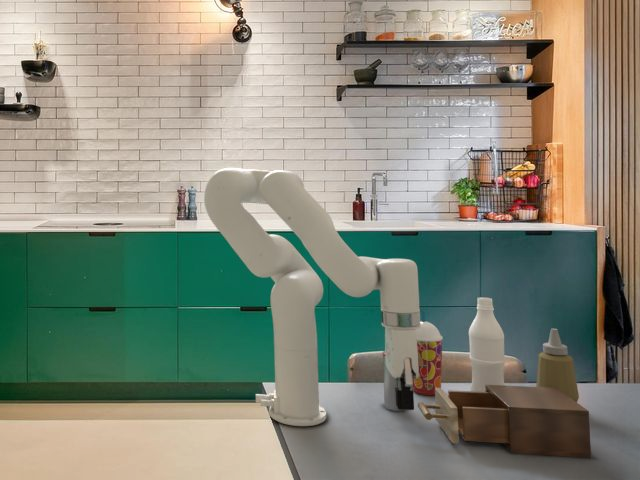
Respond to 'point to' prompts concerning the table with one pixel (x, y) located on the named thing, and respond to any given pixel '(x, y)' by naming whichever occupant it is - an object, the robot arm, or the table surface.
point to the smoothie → (428, 358)
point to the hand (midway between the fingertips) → (405, 408)
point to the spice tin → (389, 388)
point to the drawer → (469, 416)
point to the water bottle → (486, 348)
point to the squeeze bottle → (557, 367)
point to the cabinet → (544, 421)
